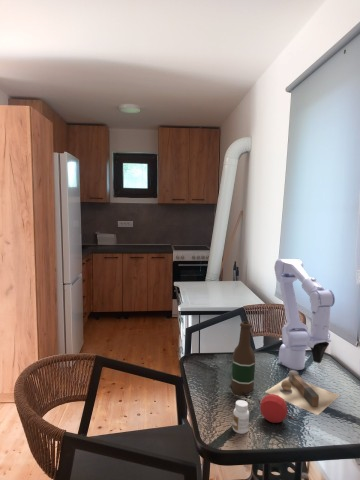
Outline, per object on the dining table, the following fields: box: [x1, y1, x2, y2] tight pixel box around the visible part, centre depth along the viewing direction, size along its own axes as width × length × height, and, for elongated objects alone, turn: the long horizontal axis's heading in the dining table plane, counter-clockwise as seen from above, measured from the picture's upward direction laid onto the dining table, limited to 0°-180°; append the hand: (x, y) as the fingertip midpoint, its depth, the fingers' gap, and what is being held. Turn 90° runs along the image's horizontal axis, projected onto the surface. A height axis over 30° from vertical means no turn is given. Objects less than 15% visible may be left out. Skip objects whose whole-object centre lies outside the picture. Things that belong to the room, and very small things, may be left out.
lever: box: [288, 369, 319, 406], centre depth 119 cm, size 18×3×3 cm, turn 6°
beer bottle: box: [230, 321, 256, 397], centre depth 120 cm, size 8×8×24 cm
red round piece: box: [259, 393, 289, 424], centre depth 105 cm, size 8×8×8 cm
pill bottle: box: [232, 399, 250, 435], centre depth 100 cm, size 4×4×8 cm
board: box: [264, 376, 340, 416], centre depth 118 cm, size 18×17×5 cm
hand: (317, 361), depth 125 cm, fingers closed
